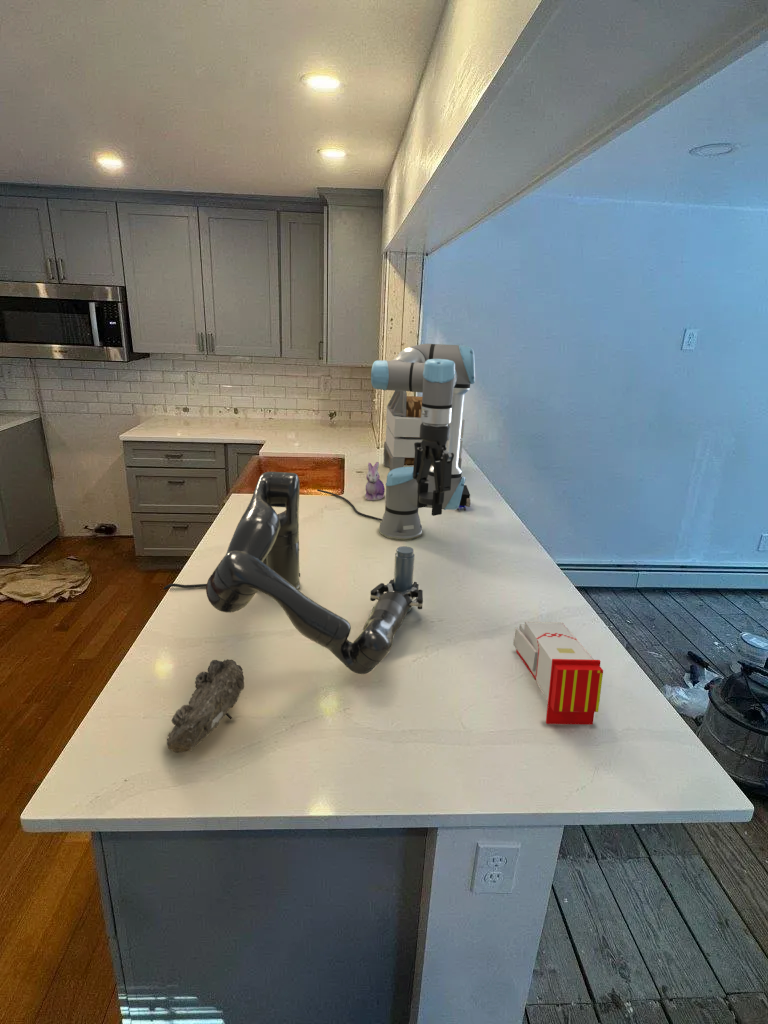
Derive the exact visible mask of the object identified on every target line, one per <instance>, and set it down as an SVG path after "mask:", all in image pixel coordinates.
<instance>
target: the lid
mask: <svg viewBox="0 0 768 1024" xmlns="http://www.w3.org/2000/svg"><path fill="white" fill-rule="evenodd" d="M419 502H420V503H422V504H426V505H432V502H433V492H424V493H420V494H419Z"/></svg>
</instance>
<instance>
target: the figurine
mask: <svg viewBox="0 0 768 1024" xmlns="http://www.w3.org/2000/svg"><path fill="white" fill-rule="evenodd" d="M379 465H380V463H379V461H376V462H375V463H374V465H372V463H371V462H368V463H367V468H368V469H367V473H366V475H365V478H366V480H367V482H366V484H365V494H364V498H365V499H366V500H367V501H377V500H382V499H384V497H385V493H386V487H385V484H384V482H383V481H382V480H381V479H380V478H381V475H380V473H379V471H378V469H379Z"/></svg>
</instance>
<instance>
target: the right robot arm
mask: <svg viewBox="0 0 768 1024" xmlns="http://www.w3.org/2000/svg"><path fill="white" fill-rule="evenodd" d="M475 363H476V362H475V351H474V348H473V347H471V346H468V345H463V344H462V345H461V344H443V343H442V344H441V343H439V344H438V343H419V344H416V345H412V346H408V347H405V348H404V349H402V350H400V352H399V353H398V354H397V356H396V357H395V358H394V359H391V360H387V359H382V360H379V359H378V360H377V359H376V360H375V361H373V363H372V365H371V370H370V371H371V372H370V382H371V386H372V388H373V389H375V390H381V391H394V392H395V391H406V392H410V393H411V392H412V393H422V395H421V397H422V410H421V422H423V423H422V424H421V425H420V438H421V439H422V442H416V443H414V447H415V457H414V466H404V467H400V468H396V469H393V470H391V471H390V470H389V472H388V473H387V475H386V482H385V504H384V505H385V507H384V508H385V509H384V513H383V515H382V518H380V517H378V516H377V517H376V516H373V515H370V514H366V513H362V512H360V511H358V510H357V508H356V507H355V505H354V504H353V503H352V502H351V501H350V500H349V499H347V498H345V497H343V496H342V495H339V494H337V493H334V492H331V491H327V490H322V489H319V488H317V489H316V491H317V492H320V493H324V494H328V495H331V496H334V497H337V498H340V499H341V500H343V501H345V502H346V503H348V504H349V505H350V507H351V508H352V509H353V511H354V512H355V513H356V514H357V515H360V516H362V517H366V518H369V519H373V520H377V521H379V527H378V533H379V534H380V535H381V536H382V537H385V538H387V539H389V540H395V541H410V540H415V539H418V538H420V537H421V536H422V535H423V525H422V524H421V518H420V515H419V509H421V508H422V509H423V508H428V509H431V516H433V517H435V516H439V515H442V514H443V510H444V511H446V510H449V511H456V510H457V508H458V509H459V505H460V500H461V496H462V492H463V487H464V485H465V483H466V477H465V476H463V474H462V473H463V471H462V469H461V470H460V468H459V467H458V460H459V449H460V439H462V438H461V427H462V419H463V414H464V404H465V396H466V393H468V391H470V390H471V389H470V388H471V385H474V384H475V383H476V364H475ZM424 492H433V502H432V505H426V504H422V503H420V502H419V494H420V493H424Z"/></svg>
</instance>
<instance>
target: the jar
mask: <svg viewBox="0 0 768 1024" xmlns="http://www.w3.org/2000/svg"><path fill="white" fill-rule="evenodd" d="M395 551H396V552H395V553H394V569H393V570H394V571H393V579H394V586H393V590H394V591H398V592H403V591H405V590H407V589H411V587H412V585H413V583H414V572H415V571H414V570H415V557H416V556H415V555H416V554H415V553H414V552H415V550H414V548H413V547H411V546H407V545H406V546H405V545H403V546H399V547H397V548H396V550H395ZM411 610H412V607H411V608H409V609H408V611H407V613H409V612H411Z"/></svg>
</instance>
